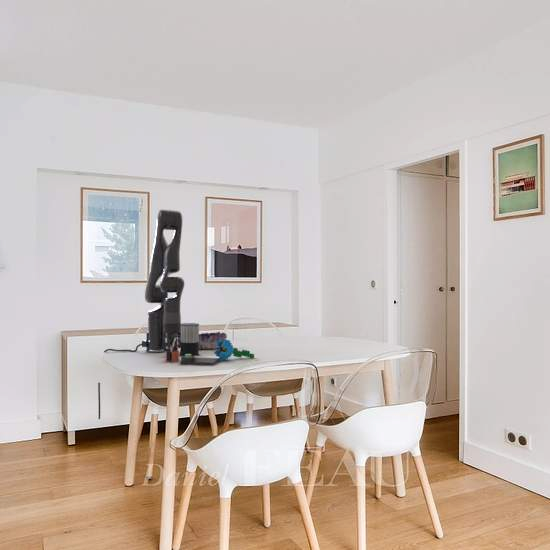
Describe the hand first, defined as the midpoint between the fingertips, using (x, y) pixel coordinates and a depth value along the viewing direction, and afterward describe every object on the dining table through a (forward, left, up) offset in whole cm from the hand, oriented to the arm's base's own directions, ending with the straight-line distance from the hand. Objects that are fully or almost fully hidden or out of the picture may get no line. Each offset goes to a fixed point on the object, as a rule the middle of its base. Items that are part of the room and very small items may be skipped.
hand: (172, 359), depth 236 cm
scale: (+14, -2, -1) cm, 14 cm away
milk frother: (-2, +17, -1) cm, 17 cm away
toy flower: (+26, +11, -1) cm, 28 cm away
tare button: (+9, -6, +2) cm, 11 cm away
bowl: (0, 0, -1) cm, 1 cm away
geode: (+2, +43, -1) cm, 43 cm away
